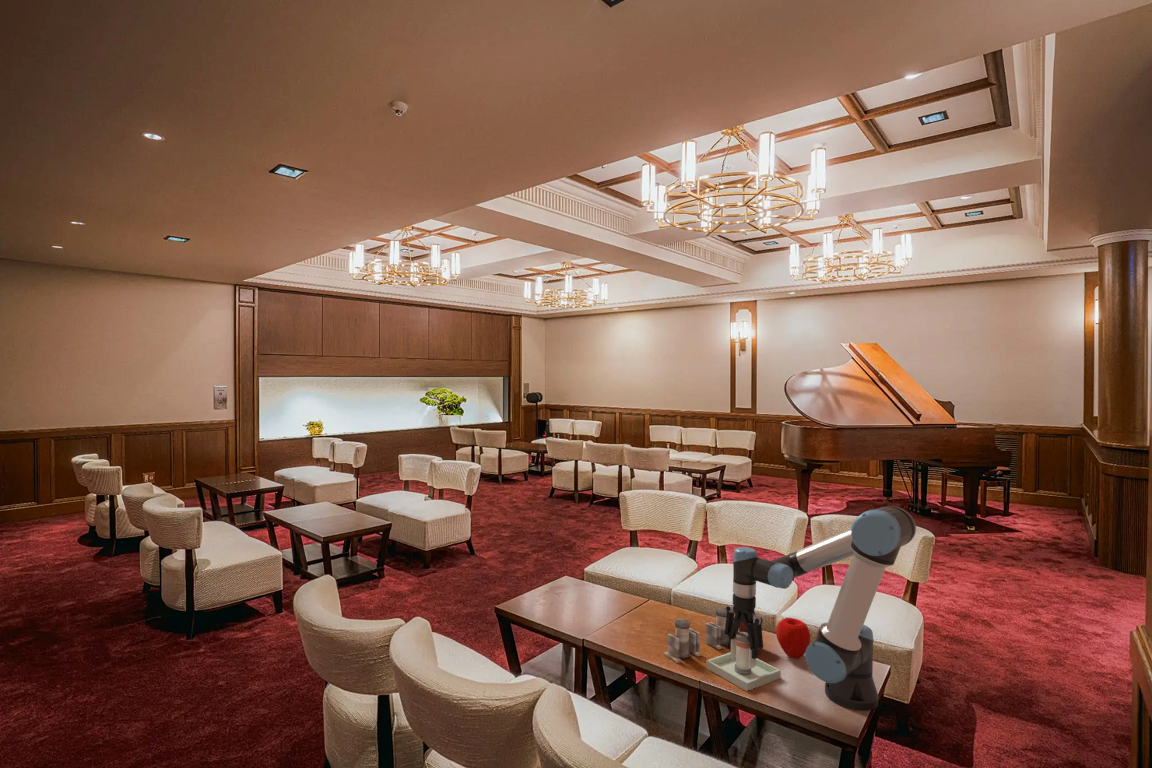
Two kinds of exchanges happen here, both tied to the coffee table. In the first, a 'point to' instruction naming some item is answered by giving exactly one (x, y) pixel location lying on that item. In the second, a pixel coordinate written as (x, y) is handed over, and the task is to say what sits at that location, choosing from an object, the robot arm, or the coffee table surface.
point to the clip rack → (696, 637)
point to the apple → (793, 637)
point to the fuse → (742, 653)
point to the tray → (747, 682)
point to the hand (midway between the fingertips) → (742, 662)
